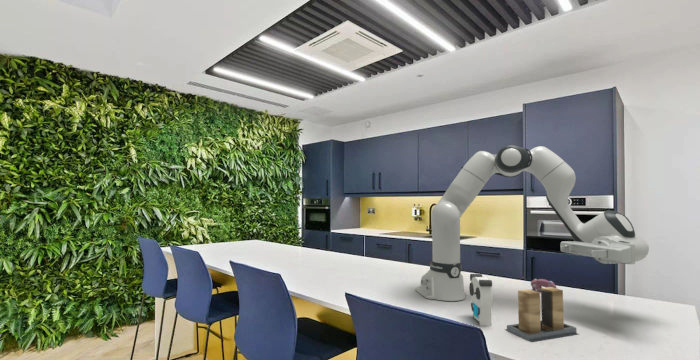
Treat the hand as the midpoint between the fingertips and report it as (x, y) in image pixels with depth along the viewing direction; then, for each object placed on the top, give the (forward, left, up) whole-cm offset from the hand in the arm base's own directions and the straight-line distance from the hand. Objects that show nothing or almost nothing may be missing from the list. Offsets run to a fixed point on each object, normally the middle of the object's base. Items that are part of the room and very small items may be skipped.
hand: (576, 251), depth 111 cm
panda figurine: (-12, -27, -24) cm, 38 cm away
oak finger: (+1, -12, -23) cm, 26 cm away
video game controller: (-36, +26, -24) cm, 51 cm away
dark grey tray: (+1, -17, -24) cm, 29 cm away
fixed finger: (+1, -21, -23) cm, 31 cm away
